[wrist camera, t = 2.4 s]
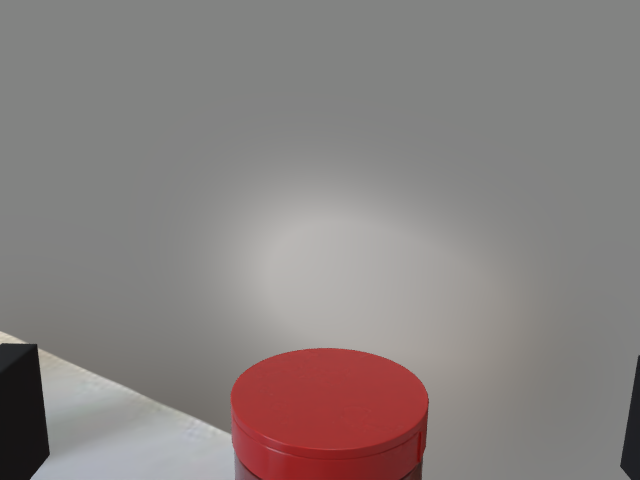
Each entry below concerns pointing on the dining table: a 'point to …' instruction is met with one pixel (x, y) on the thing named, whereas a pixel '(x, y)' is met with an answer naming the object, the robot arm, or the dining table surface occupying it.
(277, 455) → the jam lid
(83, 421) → the dining table surface
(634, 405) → the robot arm
